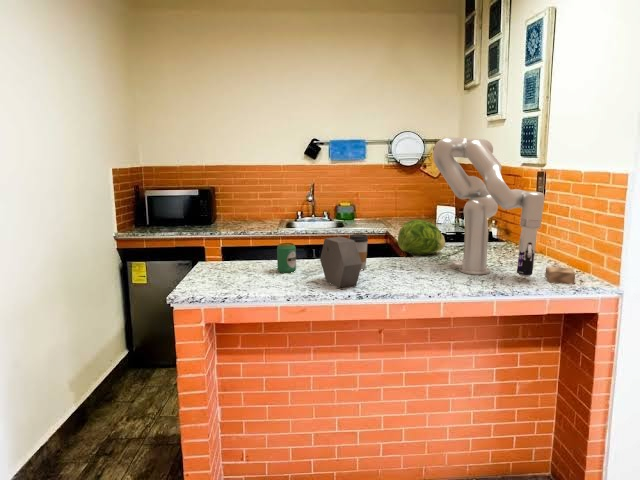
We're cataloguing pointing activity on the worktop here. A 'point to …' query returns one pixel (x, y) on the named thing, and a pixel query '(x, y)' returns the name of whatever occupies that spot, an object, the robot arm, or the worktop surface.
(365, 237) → the coffee cup
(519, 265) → the beverage can
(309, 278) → the worktop surface
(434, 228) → the lettuce
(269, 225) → the worktop surface
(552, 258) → the worktop surface
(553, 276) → the plinth
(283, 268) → the beverage can
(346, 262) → the dark hexagonal prism
